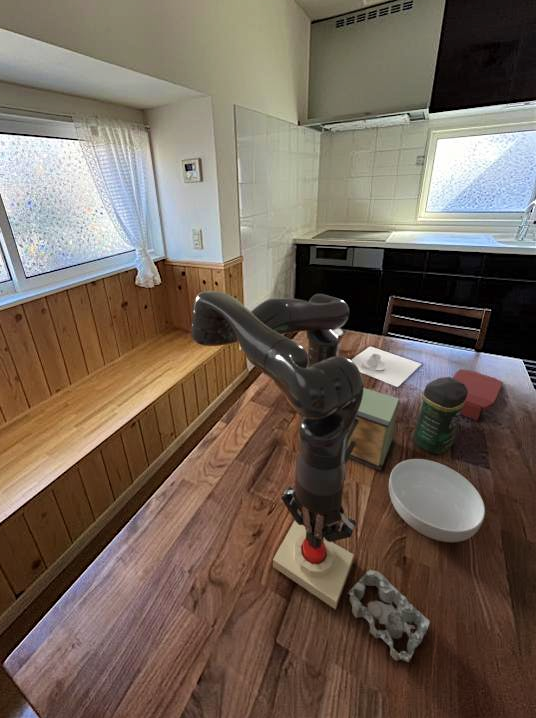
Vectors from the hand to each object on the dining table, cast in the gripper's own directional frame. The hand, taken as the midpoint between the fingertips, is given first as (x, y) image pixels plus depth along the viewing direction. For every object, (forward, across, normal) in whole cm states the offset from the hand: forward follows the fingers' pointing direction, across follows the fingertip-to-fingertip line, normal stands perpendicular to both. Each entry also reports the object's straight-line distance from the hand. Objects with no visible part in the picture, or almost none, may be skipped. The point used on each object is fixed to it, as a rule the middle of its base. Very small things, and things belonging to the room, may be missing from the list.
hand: (314, 543), depth 60 cm
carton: (+7, +21, +74) cm, 77 cm away
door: (+5, +1, +25) cm, 25 cm away
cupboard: (+6, -3, +35) cm, 36 cm away
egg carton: (+6, +13, -1) cm, 14 cm away
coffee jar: (+6, +14, +45) cm, 48 cm away
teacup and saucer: (+7, -7, +78) cm, 79 cm away
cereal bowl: (+6, +16, +22) cm, 28 cm away
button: (+2, 0, 0) cm, 2 cm away
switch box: (+6, 0, 0) cm, 6 cm away
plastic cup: (+6, -26, +72) cm, 77 cm away
